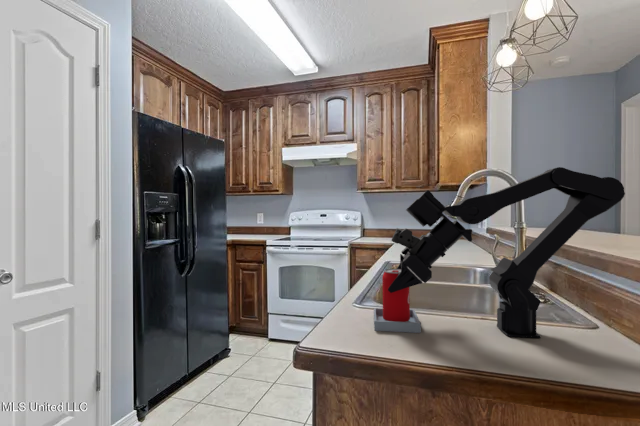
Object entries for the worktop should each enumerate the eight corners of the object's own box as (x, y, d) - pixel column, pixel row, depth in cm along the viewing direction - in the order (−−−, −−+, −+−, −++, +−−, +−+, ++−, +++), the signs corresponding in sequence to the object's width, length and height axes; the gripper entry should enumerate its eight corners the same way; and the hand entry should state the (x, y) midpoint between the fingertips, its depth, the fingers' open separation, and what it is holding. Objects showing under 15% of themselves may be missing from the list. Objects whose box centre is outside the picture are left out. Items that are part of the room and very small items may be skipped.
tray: (414, 317, 81) (414, 309, 81) (420, 332, 71) (420, 323, 71) (373, 316, 83) (373, 308, 83) (374, 330, 73) (374, 321, 73)
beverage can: (411, 319, 79) (411, 269, 79) (407, 327, 73) (407, 273, 73) (385, 316, 81) (385, 267, 81) (380, 323, 75) (379, 271, 76)
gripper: (410, 215, 85) (368, 256, 88) (414, 217, 67) (361, 268, 70) (442, 246, 84) (398, 287, 86) (455, 256, 65) (399, 307, 68)
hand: (389, 286), depth 77 cm, fingers open, 8 cm apart
